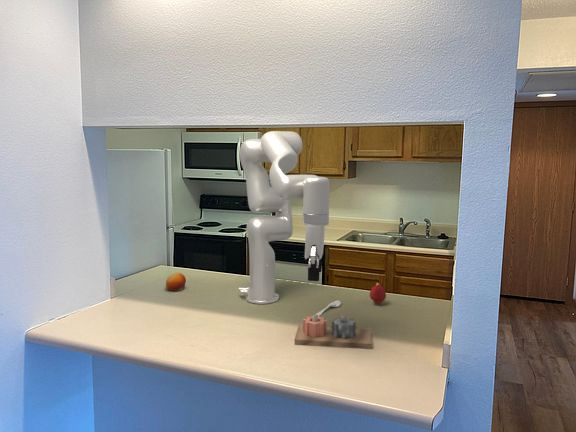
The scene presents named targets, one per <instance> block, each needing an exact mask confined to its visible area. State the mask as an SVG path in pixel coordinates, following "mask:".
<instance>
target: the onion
mask: <svg viewBox="0 0 576 432" xmlns="http://www.w3.org/2000/svg"><path fill="white" fill-rule="evenodd" d="M369 297H370V299H371V300H372V302H373V303H374V304H375V305H380V304H382V303H383V302H384V301H385V300H386V298H387V292H386V290H385V289H384V287H383V286H382V285H381V284H380V283H378V282H376V283H375V285H374V286H373V287H372V288H371V290H370V291H369Z"/></svg>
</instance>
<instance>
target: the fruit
mask: <svg viewBox="0 0 576 432" xmlns="http://www.w3.org/2000/svg"><path fill="white" fill-rule="evenodd" d="M186 280H187V279H186V276H185V275H184V274H183V273H181V272H175V273H173V274H170V275H169V276H168V277H167V278H166V280H165V286H166V289H168V290H169V291H171V292H178V291H183V289H186V287H185V286H186V284H187V283H186V282H187V281H186Z"/></svg>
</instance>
